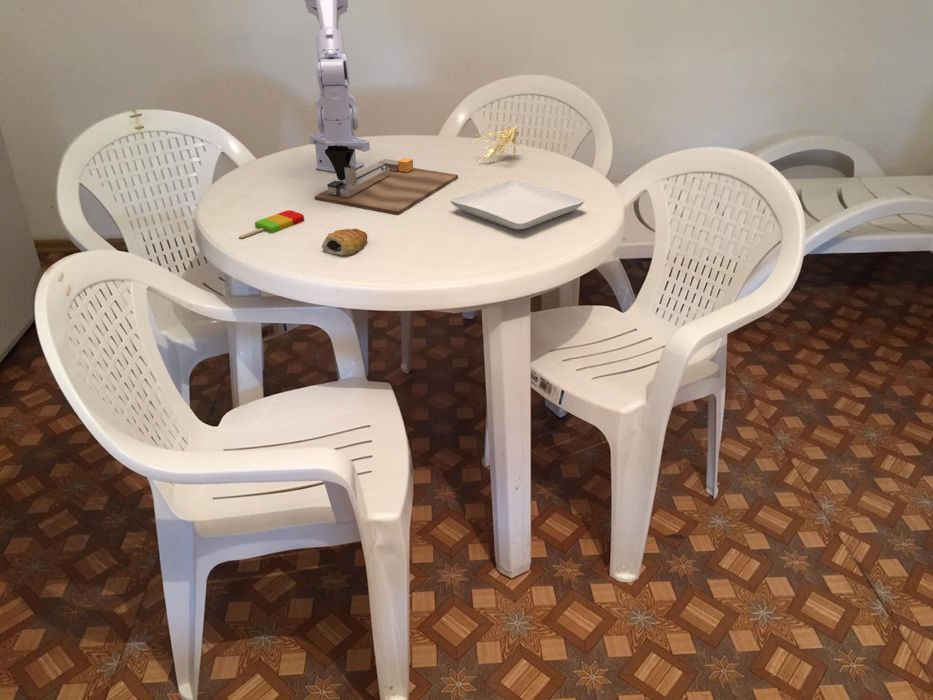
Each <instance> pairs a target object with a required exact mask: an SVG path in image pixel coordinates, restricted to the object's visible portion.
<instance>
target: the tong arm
mask: <svg viewBox="0 0 933 700" xmlns="http://www.w3.org/2000/svg"><path fill="white" fill-rule="evenodd" d="M344 170H345V181H346V186H345V187H343V188H341V189H340V196H344V197H350V196H352V195H354V194H356V193H358V192H359V191H361V190H363V189H365V188H367V187H369V186H370V185H372V184H374V183H376V182H378V181H380V180H381V179H383V178H385V177H387V176H389V175H390V168H388V166H386V165H383V166H381V168H379V169H377V170H375V171H373V172H371V173H370V174H368V175H366V176H364V177H362V178H360V179H358V180H356V173H357V169H356V168H355V166H354V165H348V166H346V167H344Z"/></svg>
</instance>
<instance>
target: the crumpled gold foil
mask: <svg viewBox="0 0 933 700" xmlns="http://www.w3.org/2000/svg"><path fill="white" fill-rule="evenodd" d="M504 126H506V125H505V123H504ZM511 126H512V127H511V128H509V127H506V129H505V128H504V129H500V130H498V131H496V130H493V131H495V132H490V131H487V130H486V131H484V133H488V134H486V135H484V136H480V137H478V138H476V139H474V140H473V141H472V142H471V144H472V143H473V142H476V141H478V140H481V139H483V138H484V137H485V138H492V137H494V136H495V137H494V138H493V139H490V140H489V139H488V142H489V141H490V142H491V146H490V145H487V146H485V147H483V146H482V147H480V149H481V151H483V150H485V149H487V148H489V147H490V148H489V150H488V151H487V153H486V154H485V155H483V156H482V157H480V158H479V160H478V162H480V161H481V160H482V159H483V160H482V163H484V162H486V161H487V160H488V159H489V157H492V158H491V159H490V161H489V162H491V161H492V160H493V159H494V158H493V156H497V159H495V162H497V161H498V159H499V158H498V157H499V156H501V155H503V154H504V153H505V151H506V150H507V151H506V153H508V150H509V149H507V148H509V146H510V144H512V145H511V147H510V148H512V147H513V151H512V154H513V155H512V157H511V160H513V158H514V156H515V154H516V153H517V148H516V147H519V148H520V150H523V147H521V146H520V145H521V142H520V143H516V142H517V137H519V134H520V131H519V130H517V128H519V125H513V123H512V125H511ZM479 134H480V133H478V134H476V135H475V136H476V137H477V136H478V135H479ZM484 142H485V143H486V142H487V140H485V141H484ZM492 146H495V147H494V148H493V147H492ZM482 148H483V149H482Z"/></svg>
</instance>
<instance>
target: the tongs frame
mask: <svg viewBox="0 0 933 700" xmlns="http://www.w3.org/2000/svg"><path fill="white" fill-rule="evenodd" d="M398 161H399V160H396V159H390V158H389V159H388V158H384V159H381V160H380V161H378V162H375V163H374V164H371V165H370V166H366V167H365V168H363V169H361V170H359V171H358V172H357V171H356V180H358V179H360V178H362V177H364V176H366V175H368V174H370V173H371V172H373V171H375V170H377V169H379V168H381V166H383V165H386V166H388V168H390V170H392V171H398V170H399V166H398ZM326 186H327V190H328V194H333V195H338V194H340V189H341V188H343V187H345V186H346V181H345V180H343V181H341V180H334V181H331V182H328V183H327V185H326Z"/></svg>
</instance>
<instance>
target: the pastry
mask: <svg viewBox="0 0 933 700" xmlns="http://www.w3.org/2000/svg"><path fill="white" fill-rule="evenodd" d="M367 242H368V235H367V232H366V231H363V230H360V229H358V228H345V229H337V230H334V231H333V232H331V233H328V234H327V236H326V237H325V239H324V240H323V243H322V244H321V248H322V249H323V250H324V252H325V253H327V254H330V255H338V256H343V257H344V256H351V255H354V254H355V253H356V252H360V251H361V250H362V249H363V248H364V247H365V246H366V244H367Z"/></svg>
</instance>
